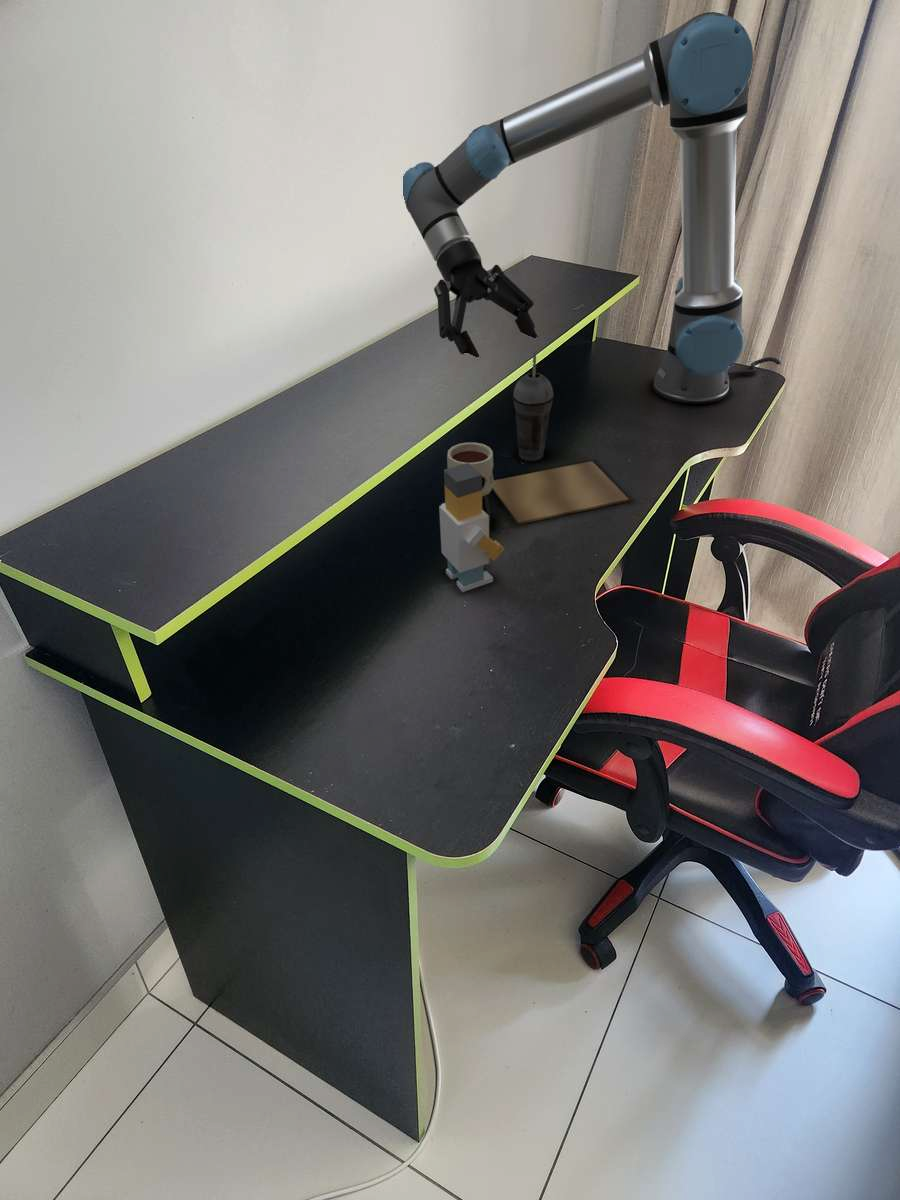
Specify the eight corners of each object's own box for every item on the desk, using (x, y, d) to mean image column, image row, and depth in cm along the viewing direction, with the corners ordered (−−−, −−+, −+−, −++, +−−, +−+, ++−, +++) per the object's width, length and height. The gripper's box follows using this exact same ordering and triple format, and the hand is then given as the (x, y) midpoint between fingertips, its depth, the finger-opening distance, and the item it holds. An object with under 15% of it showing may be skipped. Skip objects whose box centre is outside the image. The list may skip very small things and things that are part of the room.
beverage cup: (550, 445, 147) (556, 341, 135) (550, 464, 142) (556, 358, 129) (512, 445, 148) (514, 341, 135) (510, 464, 142) (512, 357, 130)
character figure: (451, 556, 121) (447, 452, 109) (512, 573, 117) (515, 467, 105) (427, 584, 115) (420, 478, 104) (490, 603, 111) (490, 494, 100)
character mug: (468, 546, 122) (466, 474, 114) (433, 531, 126) (429, 460, 118) (508, 516, 129) (509, 445, 121) (474, 502, 133) (473, 433, 124)
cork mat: (591, 463, 142) (592, 460, 141) (628, 501, 131) (628, 498, 131) (488, 483, 137) (488, 481, 137) (518, 524, 127) (518, 522, 126)
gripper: (497, 250, 148) (548, 350, 148) (388, 278, 136) (443, 386, 136) (516, 225, 141) (569, 329, 141) (403, 253, 130) (461, 366, 130)
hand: (508, 358), depth 139 cm, fingers open, 13 cm apart
